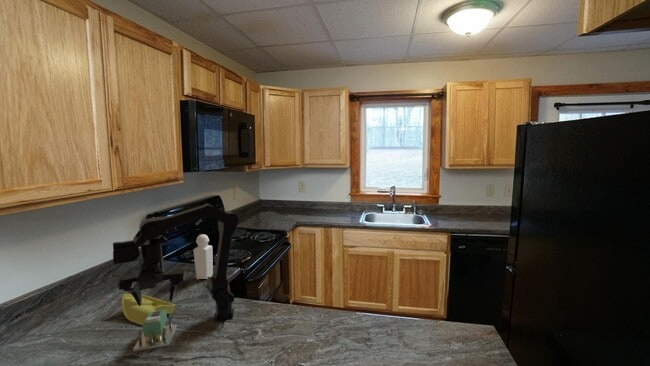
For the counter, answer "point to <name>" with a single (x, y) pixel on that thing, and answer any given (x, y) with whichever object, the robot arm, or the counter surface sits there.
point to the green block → (155, 322)
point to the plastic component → (143, 307)
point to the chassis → (156, 338)
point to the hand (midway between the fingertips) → (155, 303)
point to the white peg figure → (203, 257)
